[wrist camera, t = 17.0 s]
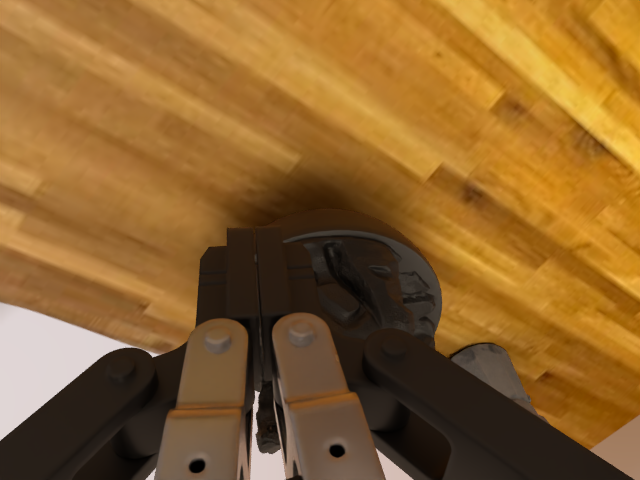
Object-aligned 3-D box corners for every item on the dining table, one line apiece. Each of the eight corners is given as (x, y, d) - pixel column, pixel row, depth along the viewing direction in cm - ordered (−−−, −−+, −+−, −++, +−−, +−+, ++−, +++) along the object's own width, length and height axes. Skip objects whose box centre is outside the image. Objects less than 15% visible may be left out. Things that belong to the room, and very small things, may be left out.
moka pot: (540, 356, 67) (637, 512, 52) (438, 411, 72) (498, 572, 56) (510, 318, 62) (607, 479, 46) (402, 380, 66) (457, 547, 51)
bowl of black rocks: (416, 152, 47) (503, 293, 32) (406, 312, 59) (466, 469, 44) (190, 178, 46) (172, 339, 31) (227, 336, 58) (227, 508, 43)
